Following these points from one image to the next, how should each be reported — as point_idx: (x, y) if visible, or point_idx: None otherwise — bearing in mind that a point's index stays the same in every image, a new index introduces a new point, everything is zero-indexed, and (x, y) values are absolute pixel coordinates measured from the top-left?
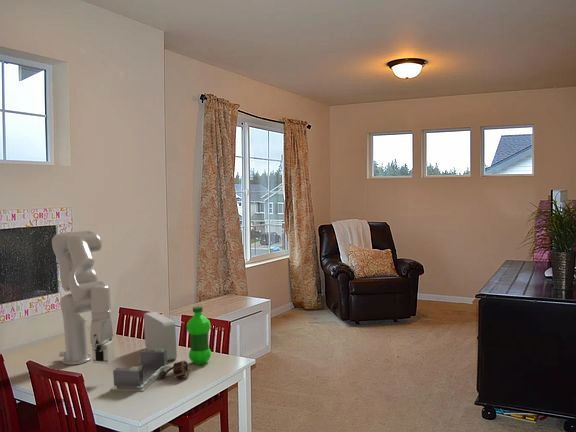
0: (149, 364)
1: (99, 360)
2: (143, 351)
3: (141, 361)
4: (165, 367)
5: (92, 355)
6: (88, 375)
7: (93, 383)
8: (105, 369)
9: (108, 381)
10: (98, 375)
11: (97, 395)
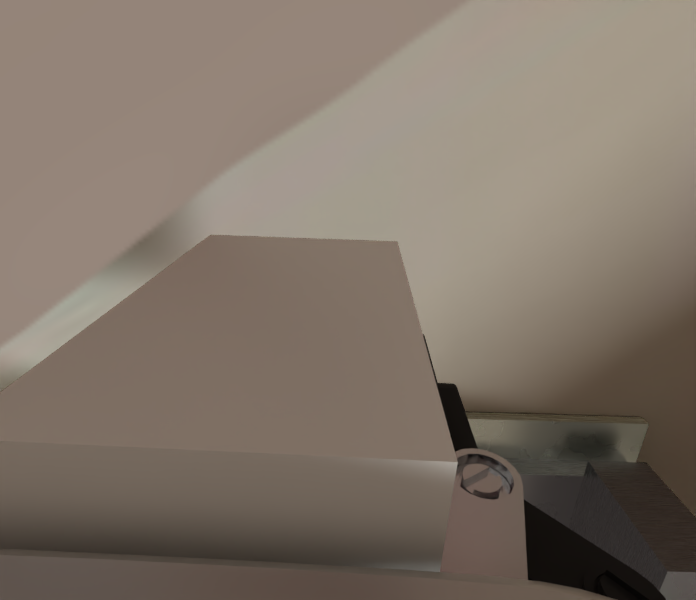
0: (576, 529)
1: None
2: (679, 594)
3: (605, 495)
4: None
5: (157, 280)
6: (465, 8)
7: (253, 197)
8: (636, 115)
9: None
10: (459, 132)
11: (38, 359)
